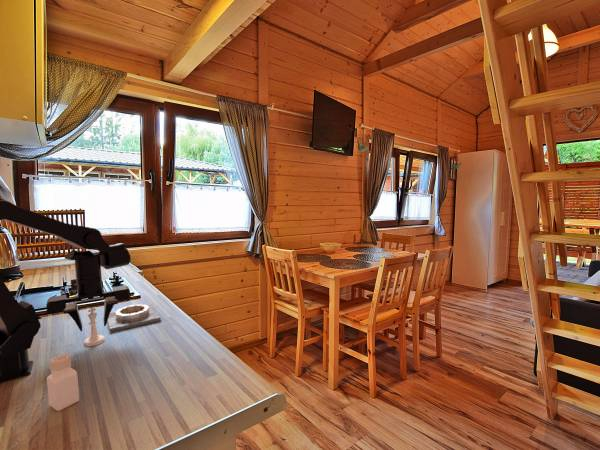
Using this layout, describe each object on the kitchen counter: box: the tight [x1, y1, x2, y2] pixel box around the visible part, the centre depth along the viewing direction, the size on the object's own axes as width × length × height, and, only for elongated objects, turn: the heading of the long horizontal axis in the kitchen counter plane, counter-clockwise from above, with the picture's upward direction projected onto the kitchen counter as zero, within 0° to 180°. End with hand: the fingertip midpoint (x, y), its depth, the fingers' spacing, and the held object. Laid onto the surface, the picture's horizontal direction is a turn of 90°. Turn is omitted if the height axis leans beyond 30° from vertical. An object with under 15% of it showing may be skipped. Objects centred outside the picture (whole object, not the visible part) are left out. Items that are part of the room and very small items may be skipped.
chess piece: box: [83, 306, 106, 347], centre depth 86 cm, size 5×5×10 cm
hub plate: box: [107, 303, 162, 333], centre depth 102 cm, size 14×14×3 cm
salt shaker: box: [46, 353, 80, 412], centre depth 61 cm, size 4×4×10 cm
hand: (93, 328), depth 86 cm, fingers open, 5 cm apart
